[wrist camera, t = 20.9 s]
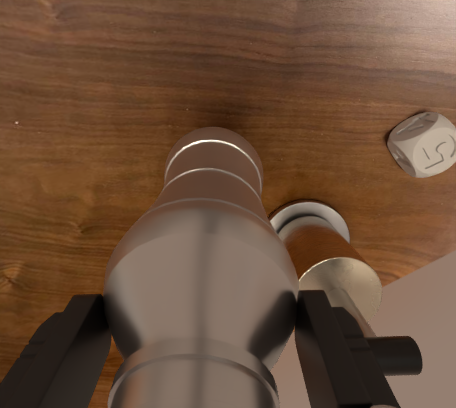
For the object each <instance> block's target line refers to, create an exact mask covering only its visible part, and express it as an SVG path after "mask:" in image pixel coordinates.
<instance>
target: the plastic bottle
mask: <svg viewBox="0 0 456 408" xmlns="http://www.w3.org/2000/svg"><path fill="white" fill-rule="evenodd" d="M164 182H165V184H164V188H163V190H162V192H161V194H160V195H159V196H158V198H157V200H156V201H155V203H154V204H153V205H152V206H151V207H150V208H149V209H148V210H147V211H146V212H145V213H144V214H143V215H142V216H141V217H140V218H139V219H138V220H137V222H136V223H134V224H133V225H132V227H131V228H130V229H129V230H128V232H127V233H126V234H125V235H124V236H123V238H122V239H121V241H120V242H119V244H118V245H117V246H116V247H115V249H114V250H113V253H112V255H111V257H110V259H109V261H108V263H107V268H106V274H105V279H104V292H103V305H104V313H105V317H106V320H107V323H108V325H109V328H110V331H111V334H112V336H113V339H114V341H115V344H116V347H117V349H118V351H119V353H120V355H121V356H122V358H123V360H124V362H123V363H122V364H121V366H120V368H119V369H118V371H117V373H116V375H115V378H114V381H113V384H112V387H111V391H110V395H109V399H108V408H280V403H279V398H278V391H277V386H276V383H275V380H274V378H273V375H272V374H271V372H270V370H271V369H272V368H273V366H274V365H275V363H276V362H277V361H278V359H279V357H280V355H281V353H282V351H283V349H284V347H285V345H286V343H287V341H288V339H289V337H290V335H291V334H292V332H293V330H294V326H295V322H296V316H297V296H298V291H299V281H298V278H297V274H296V270H295V267H294V265H293V263H292V261H291V258H290V256H289V253H288V251H287V250H286V248H285V246H284V244H283V242H282V241H281V239H280V238H279V236H278V234H277V233H276V231H275V229H274V228H273V226H272V224H271V223H270V221H269V220H268V218H267V216H266V213H265V210H264V208H263V205H262V203H261V193H262V186H263V167H262V164H261V160H260V158H259V156H258V154H257V152H256V150H255V149H254V148H253V147H252V145H251V144H250V143H249V142H248V141H247V140H245V139H244V138H243V137H242V136H240V135H239V134H237V133H235V132H233V131H231V130H228V129H225V128H221V127H204V128H200V129H197V130H194V131H192V132H190V133H188V134H186V135H184V136H183V137H182V138H181V139H179V140H178V141H177V142H176V143H175V145H174V146H173V147H172V149H171V151H170V153H169V155H168V157H167V161H166V165H165V176H164Z"/></svg>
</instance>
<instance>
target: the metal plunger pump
mask: <svg viewBox="0 0 456 408" xmlns="http://www.w3.org/2000/svg"><path fill="white" fill-rule="evenodd" d="M268 220H269V221H270V223H271V224H272V226H273V228H274V229H275V231H276V233H277V234H278V236H279V238H280V239H281V241H282V242H283V244H284V246H285V248H286V250H287V251H288V253H289V256H290V258H291V261H292V263H293V265H294V267H295V270H296V274H297V278H298V281H299V290H324V291H325V293H326V295H327V297H328V300H329V302H330V304H331V307H344V308H345V309H346V310H347V311H348V312H349V313H350V314H351V315H352V316H353V317H354V318H355V319H356V320H357V322H358V324H359V326H360V328H361V330H362V332H363V334H364V338H366V340H367V342H368V344H369V346H370V350H371V351H372V352H373V354H374V356H375V358H376V360H377V362H378V364H379V366H380V368H381V370H382V372H383V374H384V376H393V375H394V376H395V375H418V374H420V373H421V371H422V357H421V353H420V350H419V347H418V345H417V344H416V342H415V341H414V340H413V339H412V338H411V337H409V336H393V337H376V335H375V333H374V332H373V330H372V329H371V327H370V326H369V324H368V322H369V321H370V320H371V319H372V317H373V316H374V315H375V314H376V312H377V310H378V308H379V306H380V303H381V299H382V285H381V282H380V279H379V277H378V275H377V274H376V272H375V271H374V270H373V269H372V268H371V267H370V265H369V264H368V263H367V262H366V261H365V260H364V259H363V258H362V257H361V256H360V255H359V254H358V252H357V251H356V250H355V249H354V248H353V247H352V246H351V245H350V236H349V230H348V227H347V225H346V222H345V221H344V219H343V218H342V217H341V216H340V214H339V213H338V212H337V211H335V210H334V209H333V208H332V207H330V206H329V205H327V204H325V203H323V202H320V201H316V200H306V199H305V200H297V201H293V202H290V203H287V204H285V205H283V206H282V207H280V208H279V209H277V210H276V211H275V212H274V213H273V214H272V215H271V216H270V217H269V219H268Z"/></svg>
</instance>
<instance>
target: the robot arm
mask: <svg viewBox="0 0 456 408" xmlns="http://www.w3.org/2000/svg"><path fill="white" fill-rule="evenodd" d="M295 342H296V348H297V352H298V356H299V360H300V364H301V368H302V373H303V377H304V381H305V384H306V389H307V393H308V397H309V401H310V405H311V408H401V407H400V406H399V404H398V402H397V400H396V398H395V396H394V395H393V392H392V390H391V388H390V386H389V384H388V382H387V380H386V378H385V376H384V374H383V372H382V370H381V368H380V366H379V364H378V362H377V360H376V358H375V356H374V354H373V352H372V351H371V350H370V346H369V344H368V342H367V340H366V338H364V334H363V332H362V330H361V328H360V326H359V324H358V322H357V320H356V319H355V318H354V317H353V316H352V315H351V314H350V313H349V312H348V311H347V310H346V309H345V308H344V307H331V304H330V302H329V300H328V297H327V295H326V293H325V291H324V290H299V291H298V296H297V316H296V322H295ZM110 345H111V331H110V328H109V325H108V323H107V320H106V317H105V313H104V305H103V296H102V295H101V294H84V295H74V296H73V297H72V299H71V300H70V302H69V303H68V305H67V307H66V308H65V310H64V311H63V312H61V313H54V314H53V315H52V316H51V317H50V318H49V319H47V320H46V321H45V322H44V323H43V324H41V325H40V326H39V328H38V329H37V331H36V332H35V333H34V335H33V336H32V338H31V339H30V341H29V345H26V347H25V348H24V350H23V351H22V353H21V354H20V358H17V360H16V361H15V363H14V364H13V366H12V367H11V369H10V370H9V372H8V373H7V375H6V376H5V378H4V379H3V381H2V382H1V383H0V408H87V407H88V405H89V402H90V400H91V397H92V394H93V392H94V389H95V387H96V384H97V381H98V379H99V376H100V374H101V371H102V369H103V366H104V363H105V361H106V358H107V356H108V353H109V350H110Z"/></svg>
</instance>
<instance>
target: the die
mask: <svg viewBox="0 0 456 408" xmlns="http://www.w3.org/2000/svg"><path fill="white" fill-rule="evenodd" d="M387 145H388V148H389V150H390V152H391V154H392V156H393V157H394V159H395V160H396V161H397V163H398V164H399V165H400V166H401V167H402V168H403V169H404V170H405V171H406V172H407V173H408V174H409V175H411V176H413V177H420V178H422V177H429V176H433V175H436V174H439V173H441V172H443V171H445V170H446V169H448V168H449V167H451V166H452V165H453V164H454V163H455V161H456V128H455V127H454V125H453V124H452V123H451V122H450V121H449V120H448V119H447V118H445V117H444V116H443V115H441V114H439V113H436V112H425V113H421V114H418V115H415V116H413V117H410V118H408V119H406V120H405V121H403V122H402V123H400V124H399V125H398V126H396V127H395V128H394V129H393V131H392V132H391V134H390V136H389V139H388V143H387Z"/></svg>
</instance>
